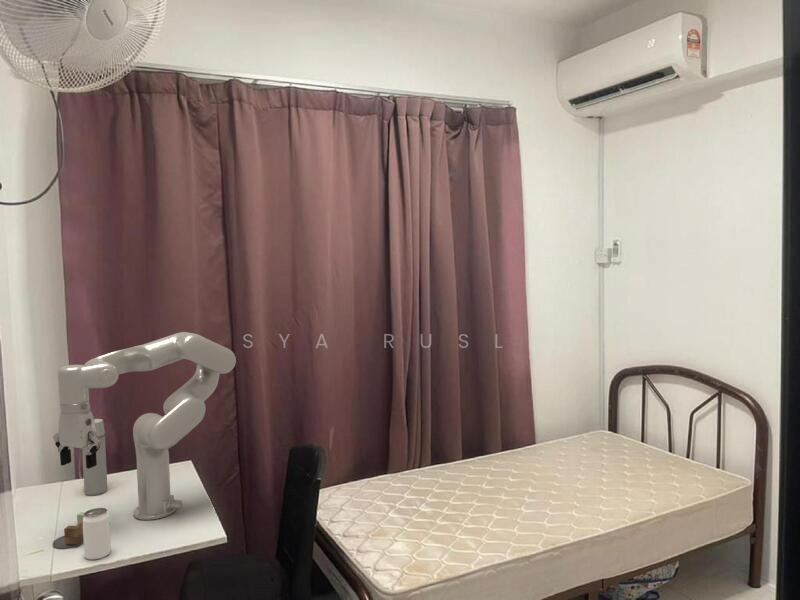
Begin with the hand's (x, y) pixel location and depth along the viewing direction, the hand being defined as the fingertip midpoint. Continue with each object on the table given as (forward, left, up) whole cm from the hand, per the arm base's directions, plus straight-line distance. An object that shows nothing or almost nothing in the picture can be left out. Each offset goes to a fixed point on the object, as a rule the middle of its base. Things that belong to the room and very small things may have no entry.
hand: (78, 465), depth 177 cm
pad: (0, +5, -21) cm, 21 cm away
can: (-12, +12, -21) cm, 27 cm away
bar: (-2, +3, -20) cm, 20 cm away
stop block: (+3, -7, -21) cm, 22 cm away
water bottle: (+16, -31, -21) cm, 40 cm away
